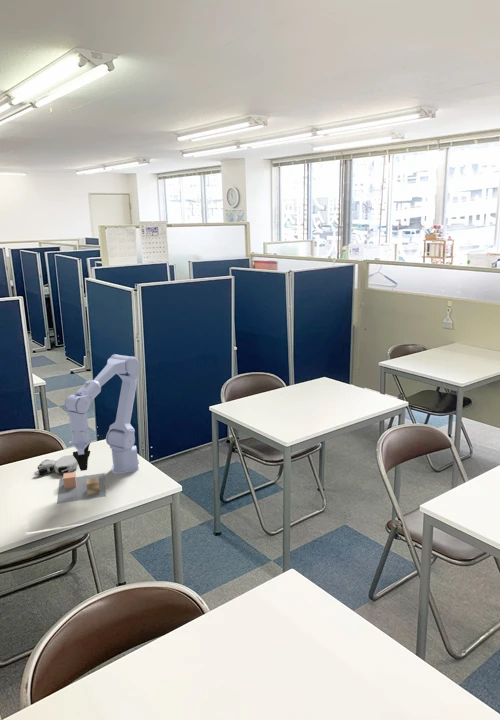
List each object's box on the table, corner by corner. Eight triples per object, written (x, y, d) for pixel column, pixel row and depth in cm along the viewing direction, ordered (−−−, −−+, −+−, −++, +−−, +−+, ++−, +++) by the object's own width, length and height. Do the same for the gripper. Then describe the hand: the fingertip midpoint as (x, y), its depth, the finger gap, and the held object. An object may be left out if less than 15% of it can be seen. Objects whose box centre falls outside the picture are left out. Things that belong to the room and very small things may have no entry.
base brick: (76, 481, 199) (75, 471, 198) (76, 487, 196) (74, 476, 195) (64, 483, 198) (63, 473, 197) (64, 488, 195) (63, 478, 194)
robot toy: (34, 482, 204) (75, 476, 204) (31, 471, 202) (72, 465, 203) (43, 467, 215) (82, 462, 216) (41, 456, 214) (79, 451, 215)
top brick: (99, 487, 195) (98, 477, 194) (99, 492, 191) (98, 482, 190) (87, 489, 194) (86, 478, 193) (87, 494, 190) (86, 484, 189)
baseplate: (104, 474, 206) (104, 472, 206) (105, 497, 189) (105, 495, 189) (59, 481, 202) (59, 479, 202) (57, 505, 185) (56, 503, 185)
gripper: (68, 422, 193) (73, 458, 197) (66, 438, 180) (71, 476, 184) (89, 420, 195) (93, 455, 199) (88, 435, 182) (92, 473, 185)
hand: (84, 465), depth 191 cm, fingers open, 7 cm apart
